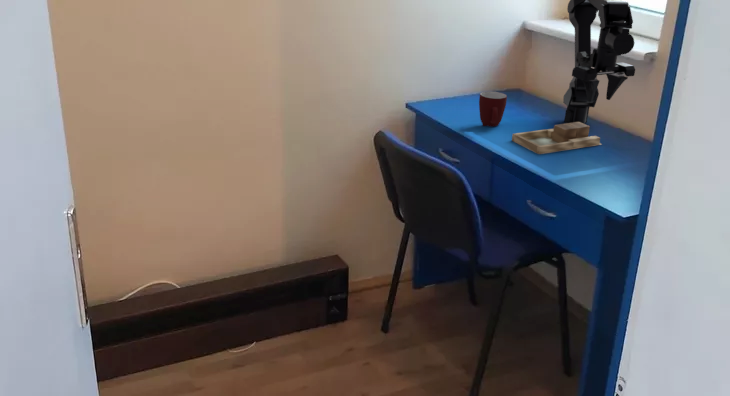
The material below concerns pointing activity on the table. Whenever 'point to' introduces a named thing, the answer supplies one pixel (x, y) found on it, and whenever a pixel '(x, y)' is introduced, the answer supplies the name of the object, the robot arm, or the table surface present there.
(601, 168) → the table surface
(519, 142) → the slot board
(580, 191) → the table surface
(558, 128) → the brown wooden cube
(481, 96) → the mug
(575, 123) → the brown cube
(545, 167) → the table surface
